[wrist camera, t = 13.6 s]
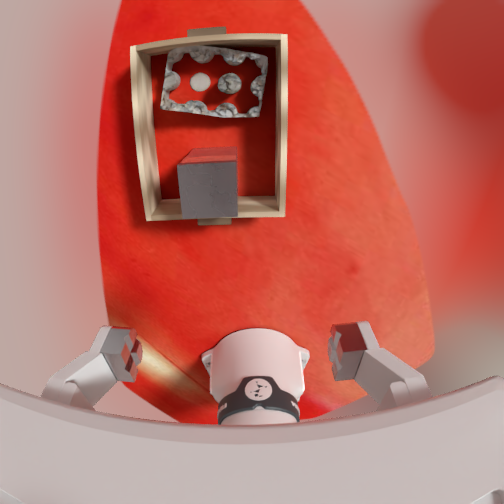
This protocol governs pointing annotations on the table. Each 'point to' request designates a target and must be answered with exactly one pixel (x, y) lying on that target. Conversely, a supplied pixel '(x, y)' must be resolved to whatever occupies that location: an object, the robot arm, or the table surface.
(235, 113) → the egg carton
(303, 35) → the table surface
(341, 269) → the table surface
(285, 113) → the tote
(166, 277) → the table surface
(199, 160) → the tin
